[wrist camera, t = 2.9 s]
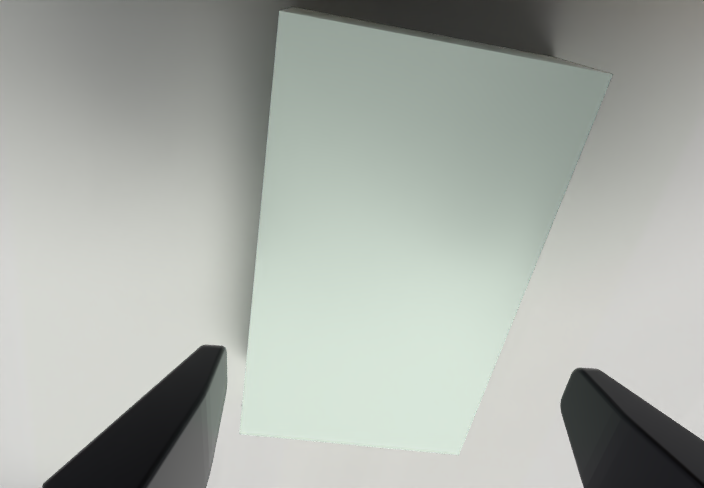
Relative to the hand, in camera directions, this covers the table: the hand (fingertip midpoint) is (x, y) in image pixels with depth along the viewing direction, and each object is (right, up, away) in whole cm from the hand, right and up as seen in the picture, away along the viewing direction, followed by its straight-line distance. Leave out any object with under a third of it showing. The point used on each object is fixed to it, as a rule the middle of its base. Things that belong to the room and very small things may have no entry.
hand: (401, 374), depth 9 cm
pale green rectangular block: (0, +3, +5) cm, 6 cm away
